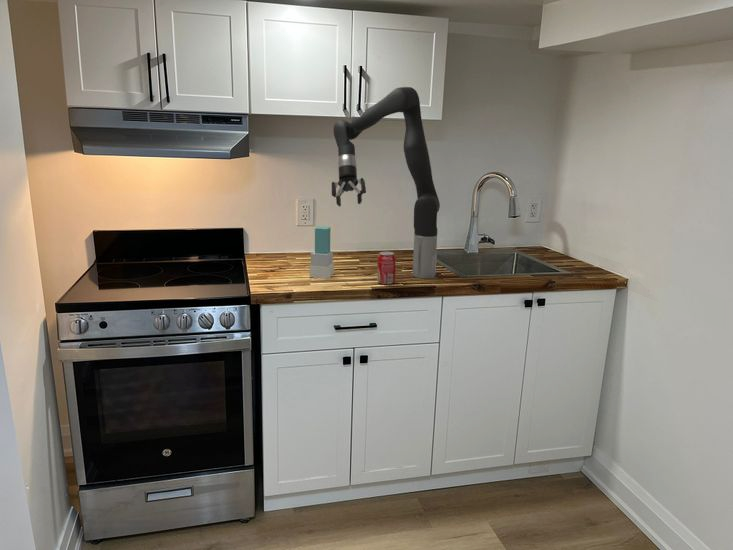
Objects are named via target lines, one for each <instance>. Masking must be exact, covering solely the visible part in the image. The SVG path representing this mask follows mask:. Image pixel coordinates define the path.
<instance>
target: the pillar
mask: <svg viewBox="0 0 733 550" xmlns="http://www.w3.org/2000/svg"><path fill="white" fill-rule="evenodd" d="M314 251H315V253H319V254H328V253H329V252H330V251H331V227H330V226H319V225H318V226H316V227H315V228H314Z"/></svg>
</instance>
